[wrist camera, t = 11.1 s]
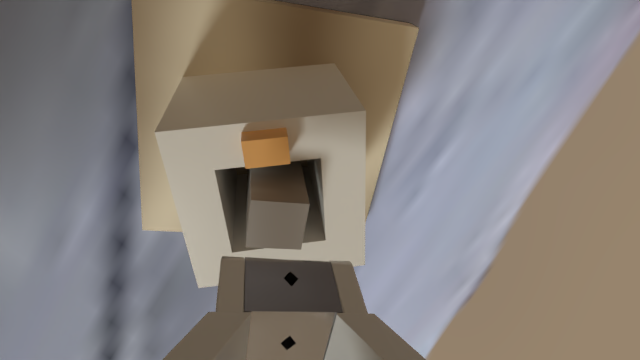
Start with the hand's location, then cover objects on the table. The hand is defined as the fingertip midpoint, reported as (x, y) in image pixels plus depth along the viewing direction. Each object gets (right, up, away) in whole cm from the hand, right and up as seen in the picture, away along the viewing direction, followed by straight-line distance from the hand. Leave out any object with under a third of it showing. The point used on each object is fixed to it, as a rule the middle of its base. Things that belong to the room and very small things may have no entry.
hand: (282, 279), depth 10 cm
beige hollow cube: (-1, +4, +7) cm, 8 cm away
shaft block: (-1, +5, +8) cm, 9 cm away
